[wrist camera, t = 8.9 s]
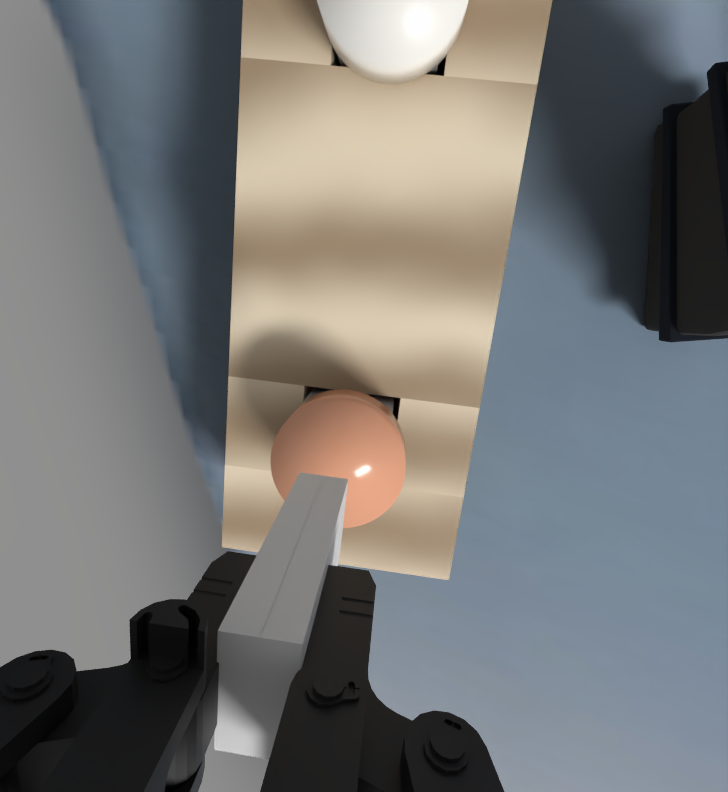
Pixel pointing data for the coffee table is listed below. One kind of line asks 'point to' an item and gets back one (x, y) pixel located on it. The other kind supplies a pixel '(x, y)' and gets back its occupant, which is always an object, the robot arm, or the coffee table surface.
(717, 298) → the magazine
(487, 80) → the block
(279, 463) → the terracotta plunger
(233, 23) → the coffee table surface
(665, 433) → the coffee table surface
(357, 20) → the pale plunger
